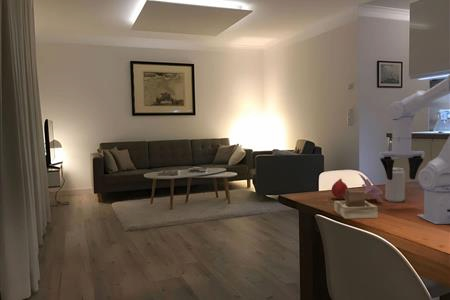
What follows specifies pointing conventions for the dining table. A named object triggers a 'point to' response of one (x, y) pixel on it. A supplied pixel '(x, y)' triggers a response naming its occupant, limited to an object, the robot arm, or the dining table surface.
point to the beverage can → (395, 186)
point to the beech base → (356, 210)
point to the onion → (339, 189)
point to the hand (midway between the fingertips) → (400, 179)
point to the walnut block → (355, 198)
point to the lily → (371, 189)
